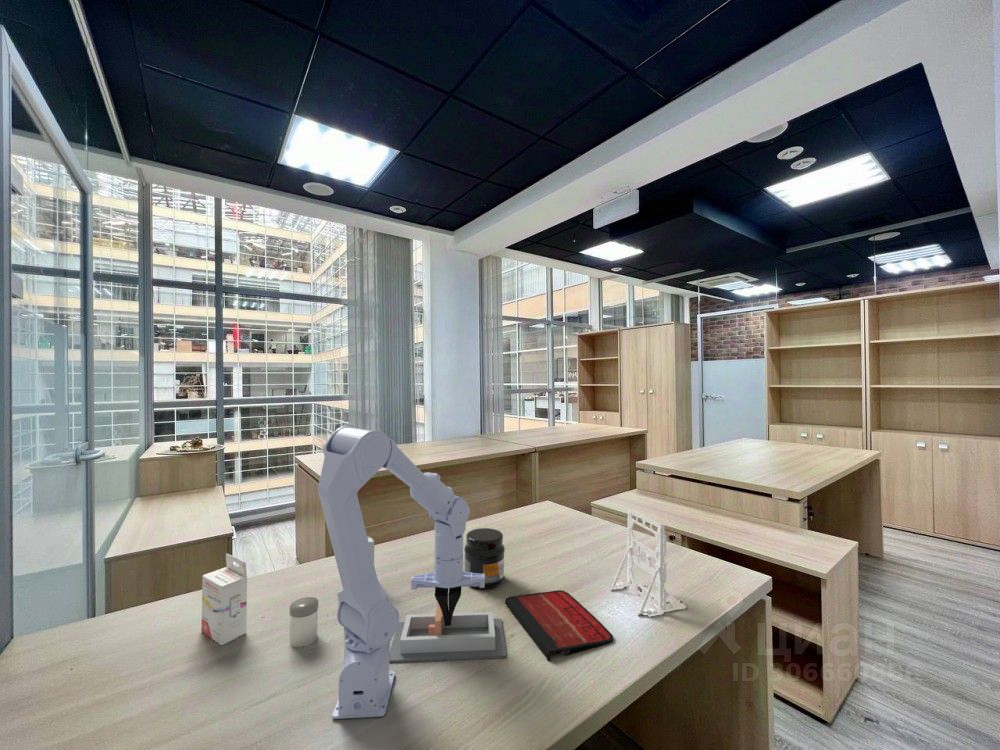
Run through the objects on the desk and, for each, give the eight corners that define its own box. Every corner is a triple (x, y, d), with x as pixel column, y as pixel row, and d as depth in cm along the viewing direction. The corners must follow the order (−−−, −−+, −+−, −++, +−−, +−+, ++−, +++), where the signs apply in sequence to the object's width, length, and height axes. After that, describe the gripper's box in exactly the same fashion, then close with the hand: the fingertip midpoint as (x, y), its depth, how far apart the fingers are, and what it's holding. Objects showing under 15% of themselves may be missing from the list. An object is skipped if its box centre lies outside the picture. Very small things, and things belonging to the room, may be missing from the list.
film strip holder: (693, 610, 94) (693, 522, 94) (641, 619, 90) (641, 528, 90) (653, 580, 108) (653, 504, 108) (606, 587, 104) (606, 508, 104)
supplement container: (511, 585, 104) (511, 538, 104) (472, 594, 100) (473, 545, 100) (494, 568, 114) (494, 524, 114) (458, 575, 109) (458, 530, 109)
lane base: (506, 657, 77) (506, 642, 77) (387, 662, 75) (387, 646, 75) (501, 620, 89) (501, 606, 89) (398, 623, 87) (398, 610, 87)
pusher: (440, 647, 79) (441, 621, 79) (427, 647, 79) (427, 621, 79) (442, 628, 85) (442, 604, 85) (430, 628, 85) (430, 604, 85)
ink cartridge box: (199, 632, 84) (200, 560, 84) (225, 620, 88) (227, 551, 88) (220, 647, 79) (222, 570, 80) (247, 633, 84) (249, 561, 84)
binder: (548, 651, 76) (504, 596, 96) (547, 664, 76) (503, 606, 96) (618, 635, 82) (563, 586, 102) (618, 647, 82) (563, 596, 102)
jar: (312, 647, 80) (312, 610, 80) (284, 648, 79) (284, 611, 79) (321, 630, 85) (322, 596, 85) (295, 631, 84) (296, 597, 84)
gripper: (484, 546, 87) (483, 610, 87) (415, 547, 86) (414, 612, 86) (485, 560, 80) (484, 630, 80) (410, 562, 79) (409, 633, 79)
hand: (448, 622), depth 82 cm, fingers closed
